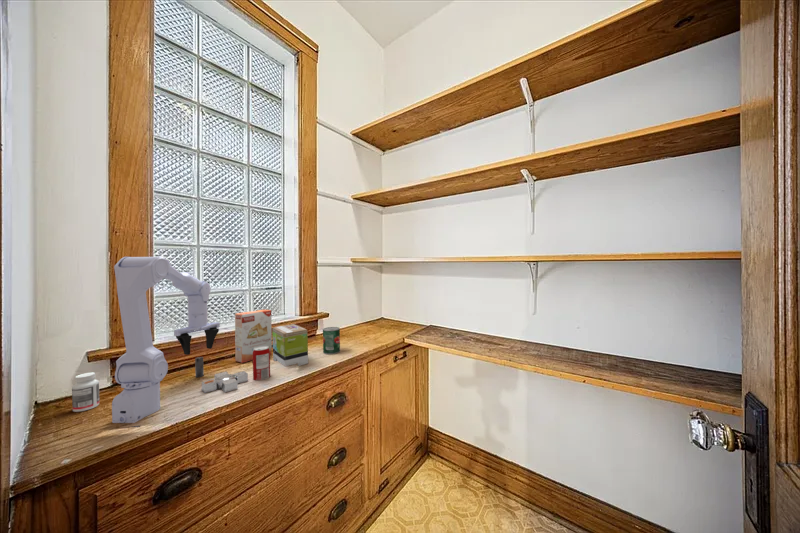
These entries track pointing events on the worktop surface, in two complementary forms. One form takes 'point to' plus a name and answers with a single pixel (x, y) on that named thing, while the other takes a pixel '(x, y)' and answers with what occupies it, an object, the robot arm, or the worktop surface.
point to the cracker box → (251, 333)
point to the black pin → (199, 367)
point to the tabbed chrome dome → (224, 381)
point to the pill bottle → (85, 392)
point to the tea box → (290, 345)
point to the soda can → (261, 363)
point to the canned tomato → (331, 340)
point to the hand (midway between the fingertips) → (198, 351)
